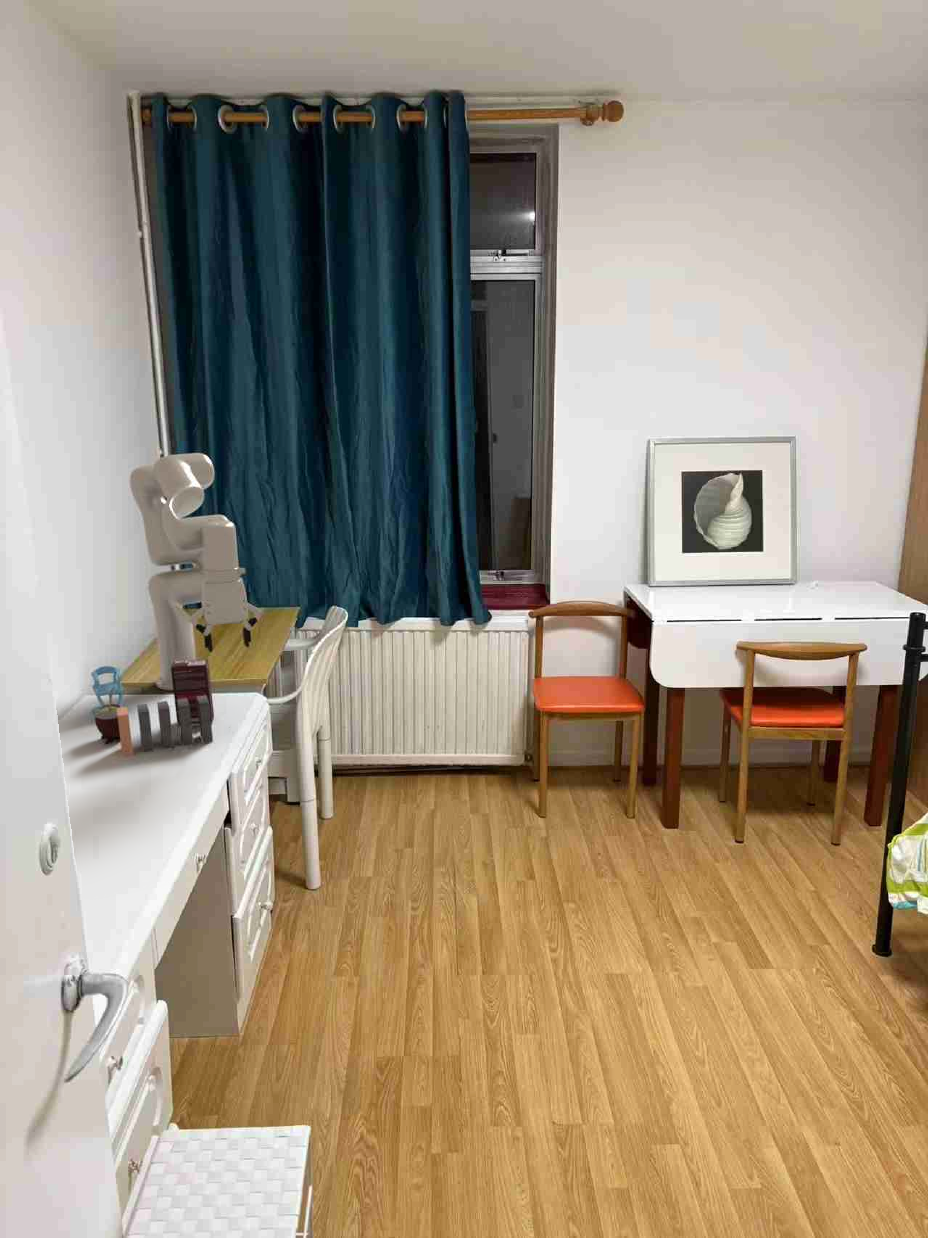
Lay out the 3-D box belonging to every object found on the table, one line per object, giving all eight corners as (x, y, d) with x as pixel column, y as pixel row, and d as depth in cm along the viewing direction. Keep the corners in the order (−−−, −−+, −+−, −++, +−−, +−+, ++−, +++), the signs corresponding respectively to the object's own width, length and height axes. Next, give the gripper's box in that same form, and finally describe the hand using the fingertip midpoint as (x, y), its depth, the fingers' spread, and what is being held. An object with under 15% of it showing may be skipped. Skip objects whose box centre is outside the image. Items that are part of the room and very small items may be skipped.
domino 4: (200, 735, 231) (196, 696, 228) (209, 733, 231) (206, 695, 228) (203, 743, 226) (199, 703, 223) (212, 741, 227) (209, 702, 224)
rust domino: (121, 748, 224) (116, 708, 221) (131, 746, 225) (126, 706, 222) (123, 756, 220) (118, 715, 217) (133, 754, 220) (128, 714, 217)
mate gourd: (108, 732, 233) (101, 674, 228) (138, 734, 231) (131, 676, 227) (90, 744, 226) (83, 685, 221) (121, 747, 224) (114, 687, 220)
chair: (98, 722, 239) (92, 677, 236) (92, 710, 246) (86, 666, 242) (130, 715, 243) (125, 671, 239) (123, 704, 250) (118, 661, 246)
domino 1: (141, 744, 226) (137, 705, 223) (151, 743, 226) (146, 703, 224) (143, 753, 221) (138, 712, 218) (153, 751, 222) (149, 711, 219)
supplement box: (214, 718, 241) (209, 658, 236) (212, 725, 236) (207, 664, 232) (179, 720, 240) (173, 660, 235) (176, 727, 235) (170, 666, 230)
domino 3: (181, 738, 229) (177, 699, 226) (190, 736, 230) (186, 697, 227) (183, 746, 225) (179, 706, 222) (193, 744, 225) (189, 705, 222)
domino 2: (161, 741, 227) (157, 702, 224) (171, 739, 228) (166, 700, 225) (163, 749, 223) (159, 709, 220) (173, 748, 224) (169, 708, 221)
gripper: (257, 567, 226) (262, 638, 231) (181, 575, 220) (188, 648, 225) (263, 575, 220) (268, 647, 225) (185, 583, 213) (192, 657, 218)
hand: (228, 647), depth 225 cm, fingers open, 7 cm apart
